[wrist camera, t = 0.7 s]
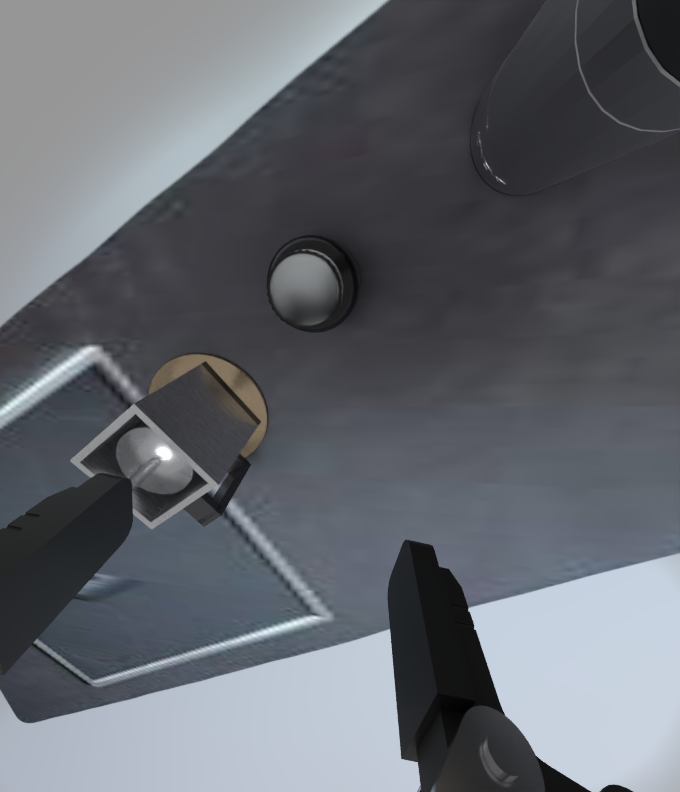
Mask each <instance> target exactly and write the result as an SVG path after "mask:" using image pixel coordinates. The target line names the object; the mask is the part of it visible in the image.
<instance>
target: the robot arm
mask: <svg viewBox="0 0 680 792" xmlns="http://www.w3.org/2000/svg"><path fill="white" fill-rule="evenodd" d="M679 132H680V0H546V1H545V2H544V4H543V5H542V7H541V8H540V10H539V11H538V13H537V14H536V16H535V17H534V18H533V20H532V21H531V23H530V24H529V26H528V27H527V29H526V30H525V32H524V33H523V35H522V36H521V38H520V39H519V41H518V42H517V44H516V45H515V47H514V48H513V49H512V51H511V52H510V54H509V55H508V57H507V58H506V59H505V61H504V62H503V64H502V65H501V67H500V68H499V70H498V71H497V73H496V74H495V76H494V77H493V79H492V80H491V82H490V83H489V85H488V86H487V88H486V90H485V92H484V93H483V95H482V97H481V99H480V101H479V103H478V106H477V109H476V111H475V114H474V118H473V123H472V128H471V150H472V156H473V160H474V163H475V166H476V168H477V171H478V172H479V174H480V175H481V177H482V178H483V180H484V181H485V182H486V183H487V184H489V185H490V186H491V187H492V188H493V189H495V190H497V191H500V192H502V193H504V194H509V195H528V194H532V193H535V192H539V191H541V190H544V189H546V188H548V187H551V186H553V185H555V184H558V183H560V182H563V181H565V180H568V179H570V178H573V177H575V176H577V175H580V174H582V173H584V172H587V171H589V170H592V169H594V168H596V167H599V166H601V165H603V164H606V163H608V162H611V161H613V160H615V159H618V158H620V157H622V156H625V155H627V154H630V153H632V152H634V151H637V150H639V149H641V148H644V147H646V146H648V145H651V144H653V143H656V142H658V141H660V140H663V139H665V138H667V137H670V136H672V135H675V134H677V133H679ZM132 522H133V502H132V482H131V480H130V479H128V478H124V477H120V476H115V475H111V474H106V473H98V474H96V475H94V476H93V477H91V478H90V479H89V480H87V481H86V482H85V483H83V484H82V485H81V486H79V487H78V488H76V487H71V488H68V489H66V490H64V491H61V492H59V493H57V494H54V495H52V496H49V497H47V498H46V499H44V500H43V501H41V502H40V503H39V504H37V505H36V506H34V507H33V508H31V509H30V510H29V511H27V512H26V514H25V515H24V516H23V515H21V516H20V517H18V518H17V519H16V520H14V521H13V522H11V523H10V524H8V526H7V528H6V529H4V528H3V529H1V530H0V675H4V674H5V673H6V672H7V671H8V670H9V669H10V668H11V667H12V666H13V664H14V663H15V662H16V661H17V660H18V659H19V658H20V657H21V656H22V654H23V653H24V652H25V651H26V650H27V649H28V648H29V647H30V646H31V644H32V643H33V642H34V641H35V640H36V639H37V638H38V637H39V636H40V634H41V633H42V632H43V631H44V630H45V629H46V628H47V627H48V626H49V624H50V623H51V622H52V621H53V620H54V619H55V618H56V617H57V616H58V614H59V613H60V612H61V611H62V610H63V609H64V608H65V607H66V606H67V604H68V603H69V602H70V601H71V600H72V599H73V598H74V597H75V596H76V594H77V593H78V592H79V591H80V590H81V589H82V588H83V587H84V586H85V584H86V583H87V582H88V581H89V580H90V579H91V578H92V577H93V576H94V574H95V573H96V572H97V571H98V570H99V569H100V568H101V567H102V566H103V564H104V563H105V562H106V561H107V560H108V559H109V558H110V557H111V556H112V554H113V553H114V552H115V551H116V550H117V549H118V548H119V547H120V546H121V544H122V543H123V542H124V541H125V539H126V538H127V536H128V534H129V532H130V529H131V527H132ZM388 609H389V620H390V632H391V643H392V654H393V666H394V678H395V689H396V701H397V712H398V724H399V735H400V746H401V758H402V759H405V760H410V761H415V762H418V766H419V775H420V783H421V786H420V787H419V789H418V791H417V792H591V791H589V790H587V789H586V788H584V787H582V786H581V785H579V784H578V783H576V782H574V781H573V780H571V779H570V778H568V777H566V776H565V775H563V774H561V773H560V772H558V771H557V770H555V769H553V768H551V767H550V766H549V765H547V764H546V763H544V762H543V761H541V760H540V759H539V758H538V757H537V756H536V755H535V753H534V752H533V750H532V748H531V746H530V744H529V743H528V741H527V740H526V738H525V737H524V735H523V734H522V733H521V731H520V730H519V729H518V728H517V727H516V725H514V723H512V721H510V720H509V719H508V718H507V717H506V716H505V714H504V712H503V710H502V707H501V705H500V702H499V699H498V696H497V693H496V690H495V687H494V684H493V681H492V678H491V675H490V672H489V669H488V666H487V663H486V660H485V657H484V654H483V651H482V648H481V645H480V642H479V639H478V636H477V633H476V630H474V624H473V620H472V618H471V615H470V612H468V605H467V602H466V599H465V596H464V593H463V590H462V587H461V586H460V584H459V583H458V582H457V580H456V579H455V577H454V576H453V574H452V573H451V571H450V570H449V569H446V568H441V567H439V565H438V561H437V558H436V554H435V551H434V548H433V546H432V545H429V544H424V543H419V542H415V541H410V540H405V541H404V542H403V545H402V547H401V550H400V552H399V555H398V558H397V560H396V563H395V566H394V568H393V571H392V574H391V577H390V580H389V586H388ZM600 792H633V791H631V790H629V789H627V788H625V787H622V786H619V785H608V786H606V787H605V788H603V789H602V790H601V791H600Z"/></svg>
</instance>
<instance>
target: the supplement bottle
mask: <svg viewBox="0 0 680 792" xmlns="http://www.w3.org/2000/svg"><path fill="white" fill-rule="evenodd" d="M359 287H360V272H359V268H358V265H357V263H356V261H355V259H354V257H353V256H352V254H351V253H350V252H349V251H348V250H347V249H346V248H345V247H343V246H342V245H340V244H338V243H336V242H334V241H333V240H331V239H328V238H325V237H322V236H316V235H307V236H301V237H297V238H295V239H293V240H291V241H289V242H287V243H286V244H285V245H283V246H282V247H281V248H280V249H279V250H278V252H277V253H276V254H275V256H274V257H273V259H272V261H271V264H270V266H269V270H268V275H267V290H268V292H267V295H268V297H269V303H270V304H271V305H272V309H273V310H274V311H275V313H276V315H277V316H279V317H280V319H281V320H282V321H285V322H286V323H287V324H288V325H290V326H292V327H294V328H296V329H298V330H301V331H305V332H311V333H318V332H324V331H328V330H331V329H333V328H335V327H337V326H338V325H340V324H341V323H342V322H343V321H344V320H345V319H346V318H347V317H348V316H349V315H350V313H351V312H352V310H353V308H354V306H355V304H356V301H357V297H358V293H359Z"/></svg>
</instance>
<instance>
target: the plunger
mask: <svg viewBox="0 0 680 792" xmlns="http://www.w3.org/2000/svg"><path fill="white" fill-rule="evenodd" d="M116 457H117V461H118V464H119V466H120V468H121V470H122V471H123V473H124V474H125V475H126V476H127V477H128V479H130V480H131V482H132V492H133V491H134V490H135V489H136V488H137V487H138V486H139V487H141V488H142V489H145V490H147V491H150V492H153V493H157V494H172V493H176V492H179V491H181V490H182V489H184V488H185V487H186V486H187V485H188V483H189V482H190V481H191V480H192V479H193V477H194V475H195V473H196V471H195V470H194V469H193V468H192V467H191V466H190V465H189V464H188V463H187V462H185V461H184V460H183V459H182V458H181V457H180V456H179V455H178V454H177V453H176V452H175V451H174V450H173V449H172V448H171V447H170V446H169V445H168V444H167V443H166V442H164V441H163V440H162V439H161V438H160V437H159V436H158V435H157V434H156V433H155V432H154V431H153V430H152V429H151V428H150V427H149V426H148V425H147V424H144V425H140V426H137V427H135V428H133V429H131V430H130V431H128V432H127V433H126V434H124V435H123V436H122V437H121V438H120V440H119V441H118V444H117V447H116Z"/></svg>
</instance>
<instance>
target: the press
mask: <svg viewBox="0 0 680 792" xmlns="http://www.w3.org/2000/svg"><path fill="white" fill-rule="evenodd" d="M144 424H147V425H148V426H149V427H150V428H151V429H152V430H153V431H154V432H155V433H156V434H157V435H158V436H159V437H160V438H161V439H162V440H163V441H164V442H166V443H167V444H168V445H169V446H170V447H171V448H172V449H173V450H174V451H175V452H176V453H177V454H178V455H179V456H180V457H181V458H182V459H183V460H184V461H185V462H187V463H188V464H189V465H190V466H191V467H192V468H193V469H194V470H195V471H196V473H195V475H194V477H193V479H192V480H191V481H190V482H189V483H188V485H187V486H186V487H185V488H184V489H182V490H181V491H179V492H176V493H172V494H157V493H153V492H150V491H147V490H145V489H142V488H141V487H139V486H138V487H137V488H136V489H135V490H134V491H133V492H132V502H133V514H134V515H135V516H136V517H137V518H138V519H140V520H141V521H142V522H143V523H144V524H146V525H147V526H148V527H149V528H150V529H151V530H152V529H153V528H155V527H156V526H158V525H159V524H161V523H162V522H164V521H165V520H167V519H168V518H170V517H171V516H173V515H174V514H176V513H177V512H179V511H180V510H182V509H184V510H186V511H187V512H188V513H189V514H190V515H191V516H192V517H193V518H195V519H196V520H197V521H198V522H199V523H200V524H201V525H202V526H203V527H204V526H206V525H207V524H209V523H210V522H212V521H214V520H215V519H217V518H218V517H220V516H221V515H222V513H223V512H224V510H225V508H226V507H227V505H228V503H229V501H230V500H231V498H232V496H233V495H234V493H235V491H236V489H237V488H238V486H239V484H240V483H241V481H242V479H243V477H244V476H245V474H246V472H247V471H248V469H249V467H250V465H251V464H250V463H249V462H248V461H247V460H246V459H245V457H247V456H248V455H250V454H251V453H252V452H254V450H255V449H256V448H257V447H258V446H259V444H260V443H261V441H262V440H263V438H264V435H265V433H266V430H267V426H268V410H267V405H266V402H265V399H264V396H263V394H262V392H261V390H260V389H259V387H258V385H257V384H256V383H255V381H254V380H253V379H252V378H251V377H250V376H249V375H248V374H247V373H246V372H245V371H244V370H243V369H241V368H240V367H239V366H237V365H236V364H234V363H232V362H230V361H228V360H226V359H224V358H221V357H218V356H215V355H211V354H203V353H193V354H187V355H183V356H180V357H177V358H175V359H173V360H171V361H169V362H168V363H166V364H165V365H164V366H162V367H161V368H160V370H159V371H158V372H157V373H156V375H155V376H154V378H153V380H152V383H151V386H150V390H149V395H148V396H146V397H145V398H143V399H141V400H140V401H138V402H136V403H135V404H133V405H132V406H131V407H130V408H129V409H128V410H127V411H125V412H124V413H123V414H122V415H121V416H120V417H119V418H118V419H116V420H115V421H114V422H113V423H112V424H111V425H110V426H108V427H107V428H106V429H105V430H104V431H103V432H102V433H101V434H99V435H98V436H97V437H96V438H95V439H94V440H93V441H92V442H90V443H89V444H88V445H87V446H86V447H85V448H84V449H82V450H81V451H80V452H79V453H78V454H77V455H76V456H75V457H73V458H72V459H71V460H70V461H71V462H72V463H73V464H74V465H76V466H77V467H78V468H79V469H80V470H81V471H83V472H84V473H85V474H86V475H87V476H89V477H90V478H91V477H93V476H94V475H96V474H98V473H106V474H111V475H115V476H120V477H124V478H128V477H127V476H126V475H125V474H124V473H123V471H122V470H121V468H120V466H119V464H118V461H117V457H116V447H117V444H118V441H119V440H120V438H121V437H122V436H123V435H124V434H126V433H127V432H128V431H130V430H131V429H133V428H135V427H137V426H140V425H144ZM227 472H228V473H229V474H228V476H227V477H226V479H225V480H224V482H223V483H222V485H221V486H220V488H219V489H218V491H217V492H216V494H215V495H214V497H213V498H212V497H211V496H210V495H209V494H208V493H207V492H208V491H210V490H211V489H213V488H214V487H216V486H217V485H219V483H220V482H221V480H222V479H223V477H224V476H225V474H226V473H227Z"/></svg>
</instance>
